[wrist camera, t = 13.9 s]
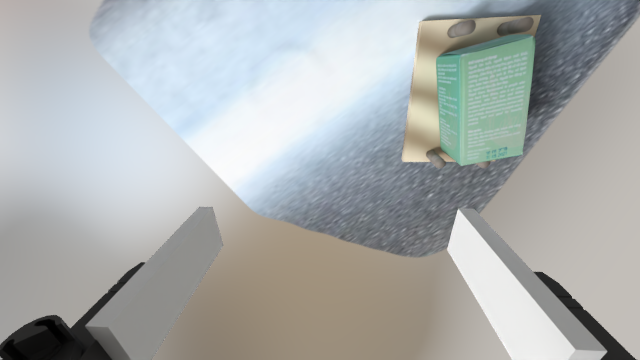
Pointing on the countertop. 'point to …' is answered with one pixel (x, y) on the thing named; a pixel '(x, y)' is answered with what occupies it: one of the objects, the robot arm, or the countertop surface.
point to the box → (485, 98)
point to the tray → (423, 94)
